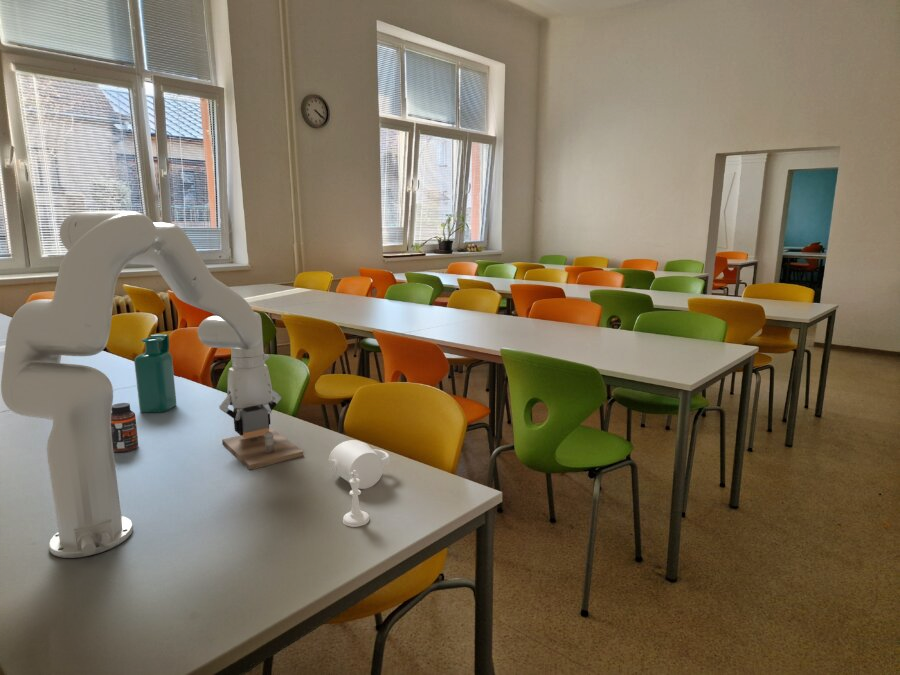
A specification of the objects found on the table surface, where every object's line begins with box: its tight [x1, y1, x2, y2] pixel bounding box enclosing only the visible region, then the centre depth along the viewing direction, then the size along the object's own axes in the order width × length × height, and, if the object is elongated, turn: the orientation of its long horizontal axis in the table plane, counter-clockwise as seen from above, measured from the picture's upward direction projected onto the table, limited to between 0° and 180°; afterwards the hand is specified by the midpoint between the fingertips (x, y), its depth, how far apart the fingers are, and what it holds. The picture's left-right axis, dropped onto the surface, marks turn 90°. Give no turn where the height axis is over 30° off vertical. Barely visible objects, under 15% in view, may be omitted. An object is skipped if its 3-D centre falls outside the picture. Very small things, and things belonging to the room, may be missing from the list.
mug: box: [327, 439, 391, 490], centre depth 125 cm, size 12×9×8 cm
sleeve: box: [241, 405, 270, 439], centre depth 145 cm, size 6×6×6 cm
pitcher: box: [133, 333, 177, 413], centre depth 172 cm, size 10×8×22 cm
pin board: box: [221, 428, 304, 471], centre depth 141 cm, size 20×13×6 cm, turn 38°
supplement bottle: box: [111, 402, 139, 453], centre depth 142 cm, size 6×6×11 cm
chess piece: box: [342, 470, 370, 528], centre depth 107 cm, size 5×5×10 cm
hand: (253, 430), depth 145 cm, fingers closed on sleeve, 5 cm apart
